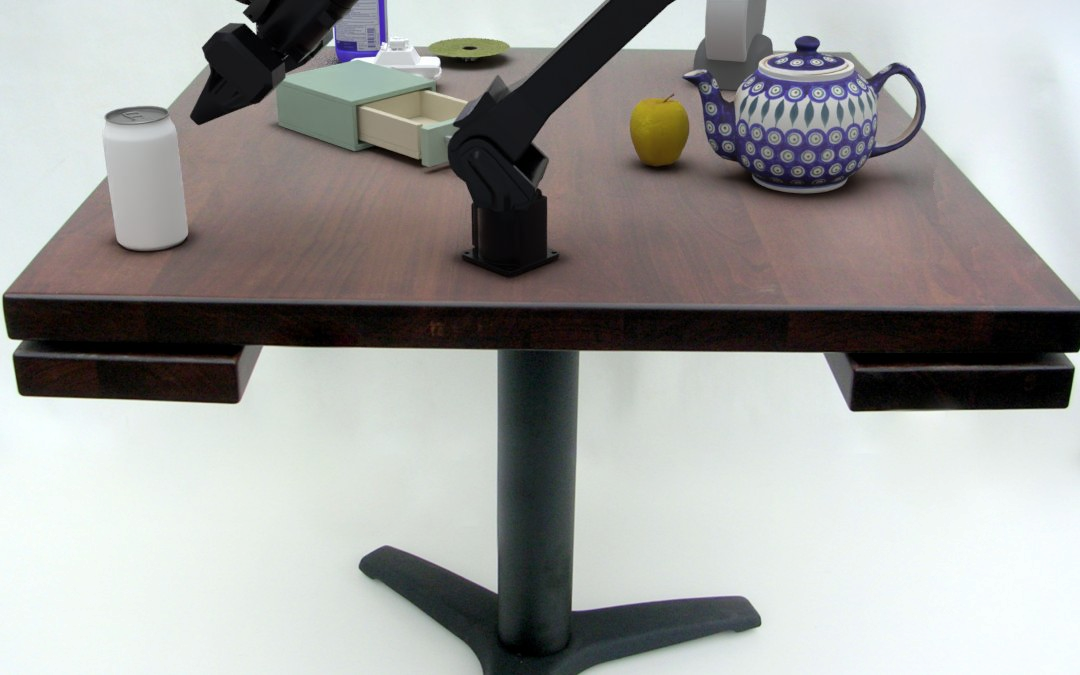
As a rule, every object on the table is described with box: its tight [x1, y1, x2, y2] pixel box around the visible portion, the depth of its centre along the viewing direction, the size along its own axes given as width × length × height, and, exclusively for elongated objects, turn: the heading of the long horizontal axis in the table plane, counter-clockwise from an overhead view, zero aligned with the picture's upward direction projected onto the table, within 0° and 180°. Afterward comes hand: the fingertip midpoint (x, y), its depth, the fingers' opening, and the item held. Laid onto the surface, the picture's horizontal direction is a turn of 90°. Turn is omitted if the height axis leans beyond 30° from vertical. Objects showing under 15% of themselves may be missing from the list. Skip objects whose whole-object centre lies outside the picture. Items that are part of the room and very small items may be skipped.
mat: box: [427, 37, 511, 62], centre depth 188 cm, size 11×11×2 cm
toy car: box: [351, 35, 443, 81], centre depth 174 cm, size 6×12×7 cm, turn 91°
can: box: [101, 105, 189, 252], centre depth 124 cm, size 6×6×12 cm
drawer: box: [356, 89, 469, 168], centre depth 149 cm, size 18×11×4 cm, turn 45°
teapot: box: [681, 35, 927, 194], centre depth 140 cm, size 25×15×15 cm, turn 87°
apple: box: [629, 92, 690, 168], centre depth 145 cm, size 6×6×8 cm
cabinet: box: [275, 60, 437, 152], centre depth 158 cm, size 14×12×6 cm
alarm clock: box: [692, 0, 774, 91], centre depth 176 cm, size 16×10×18 cm, turn 162°
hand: (213, 106), depth 121 cm, fingers open, 9 cm apart
